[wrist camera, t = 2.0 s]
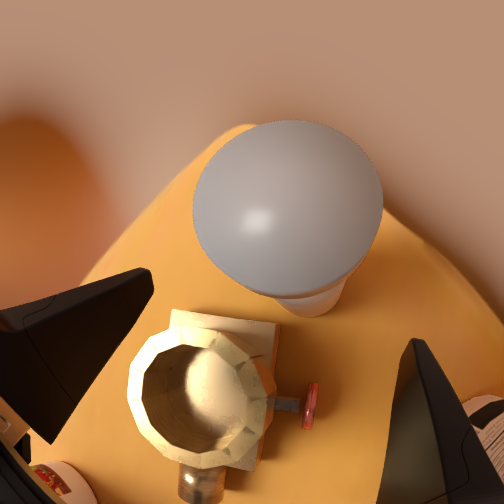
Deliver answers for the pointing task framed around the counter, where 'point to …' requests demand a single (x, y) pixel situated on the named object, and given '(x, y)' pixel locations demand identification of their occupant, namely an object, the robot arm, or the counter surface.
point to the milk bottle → (65, 482)
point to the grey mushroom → (289, 212)
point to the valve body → (210, 397)
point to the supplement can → (489, 426)
